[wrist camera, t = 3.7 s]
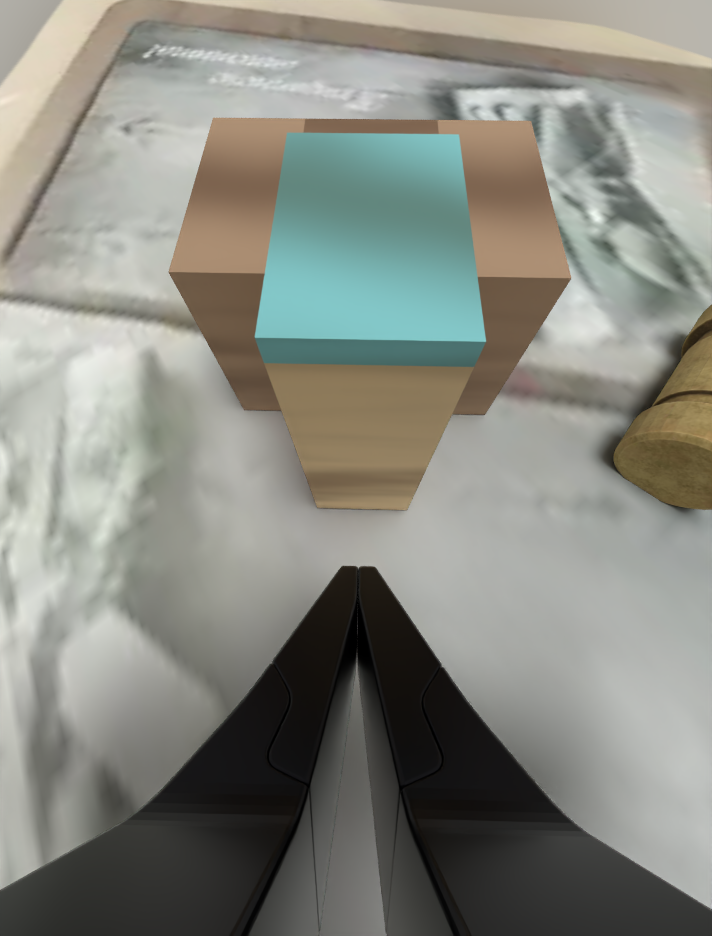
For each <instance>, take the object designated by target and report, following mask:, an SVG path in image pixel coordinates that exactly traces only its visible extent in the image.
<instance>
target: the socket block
mask: <svg viewBox="0 0 712 936" xmlns="http://www.w3.org/2000/svg"><path fill="white" fill-rule="evenodd" d="M287 133H376V134H459V139H460V146H461V154H462V162H463V169H464V177H465V185H466V192H467V200H468V208H469V215H470V223H471V230H472V238H473V246H474V253H475V261H476V269H477V276H478V284H479V291H480V299H481V307H482V314H483V322H484V330H485V337H486V343H485V345H484V347H483V349H482V351H481V354H480V356H479V358H478V360H477V362H476V364H475V366H474V369H473V371H472V373H471V375H470V377H469V379H468V381H467V383H466V386H465V388H464V390H463V392H462V394H461V396H460V398H459V401H458V403H457V405H456V407H455V409H454V411H453V413H452V414H478V415H485V414H486V412H487V411H488V409H489V408H490V406H491V404H492V403H493V401H494V400H495V398H496V396H497V395H498V393H499V392H500V390H501V389H502V387H503V385H504V384H505V382H506V381H507V379H508V378H509V376H510V374H511V373H512V371H513V370H514V368H515V366H516V365H517V363H518V362H519V360H520V359H521V357H522V355H523V354H524V352H525V351H526V349H527V348H528V346H529V344H530V343H531V341H532V340H533V338H534V336H535V335H536V333H537V332H538V330H539V329H540V327H541V325H542V324H543V322H544V321H545V319H546V318H547V316H548V314H549V313H550V311H551V310H552V308H553V306H554V305H555V303H556V302H557V300H558V299H559V297H560V295H561V294H562V292H563V291H564V289H565V288H566V286H567V284H568V283H569V281H570V280H571V275H570V271H569V267H568V263H567V259H566V255H565V252H564V248H563V244H562V240H561V236H560V232H559V228H558V224H557V221H556V217H555V213H554V209H553V205H552V201H551V197H550V193H549V189H548V186H547V182H546V178H545V174H544V170H543V166H542V162H541V158H540V155H539V151H538V147H537V143H536V139H535V135H534V131H533V127H532V124H531V121H479V120H381V119H282V118H213V120H212V124H211V127H210V131H209V134H208V138H207V141H206V145H205V148H204V151H203V155H202V158H201V162H200V165H199V169H198V172H197V176H196V179H195V182H194V186H193V189H192V193H191V196H190V200H189V203H188V207H187V210H186V213H185V217H184V220H183V224H182V227H181V231H180V234H179V238H178V241H177V245H176V248H175V251H174V255H173V258H172V262H171V265H170V269H169V274H170V276H171V277H172V279H173V281H174V283H175V285H176V287H177V288H178V290H179V292H180V294H181V296H182V298H183V299H184V301H185V303H186V305H187V307H188V308H189V310H190V312H191V314H192V316H193V318H194V319H195V321H196V323H197V325H198V327H199V328H200V330H201V332H202V334H203V336H204V338H205V339H206V341H207V343H208V345H209V347H210V349H211V350H212V352H213V354H214V356H215V358H216V359H217V361H218V363H219V365H220V367H221V369H222V370H223V372H224V374H225V376H226V378H227V379H228V381H229V383H230V385H231V387H232V389H233V390H234V392H235V394H236V396H237V398H238V400H239V401H240V403H241V405H242V407H243V409H244V410H278V411H281V408H280V405H279V402H278V400H277V397H276V394H275V392H274V389H273V386H272V384H271V381H270V378H269V375H268V373H267V370H266V367H265V365H264V362H263V359H262V356H261V354H260V351H259V348H258V346H257V343H256V340H255V332H256V325H257V319H258V313H259V306H260V300H261V294H262V288H263V281H264V275H265V269H266V262H267V256H268V250H269V243H270V237H271V231H272V224H273V218H274V212H275V205H276V199H277V193H278V186H279V180H280V174H281V168H282V161H283V155H284V149H285V142H286V136H287Z"/></svg>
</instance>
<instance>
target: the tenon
mask: <svg viewBox="0 0 712 936" xmlns="http://www.w3.org/2000/svg"><path fill="white" fill-rule="evenodd" d="M255 340H256V343H257V346H258V348H259V351H260V354H261V356H262V359H263V362H264V365H265V367H266V370H267V373H268V375H269V378H270V381H271V384H272V386H273V389H274V392H275V394H276V397H277V400H278V402H279V405H280V408H281V411H282V413H283V416H284V419H285V421H286V424H287V427H288V430H289V432H290V435H291V438H292V440H293V443H294V446H295V449H296V451H297V454H298V457H299V459H300V462H301V465H302V467H303V470H304V473H305V476H306V478H307V481H308V484H309V486H310V489H311V492H312V495H313V497H314V500H315V503H316V505H317V508H342V509H385V510H407V509H408V507H409V505H410V503H411V501H412V499H413V496H414V494H415V492H416V490H417V488H418V486H419V484H420V482H421V479H422V477H423V475H424V473H425V471H426V469H427V467H428V465H429V462H430V460H431V458H432V456H433V454H434V452H435V450H436V447H437V445H438V443H439V441H440V439H441V437H442V435H443V433H444V430H445V428H446V426H447V424H448V422H449V420H450V418H451V415H452V413H453V411H454V409H455V407H456V405H457V403H458V401H459V398H460V396H461V394H462V392H463V390H464V388H465V386H466V383H467V381H468V379H469V377H470V375H471V373H472V371H473V369H474V366H475V364H476V362H477V360H478V358H479V356H480V354H481V351H482V349H483V347H484V345H485V343H486V337H485V330H484V322H483V314H482V307H481V299H480V291H479V284H478V276H477V269H476V261H475V253H474V246H473V238H472V230H471V223H470V215H469V208H468V200H467V192H466V185H465V177H464V169H463V162H462V154H461V146H460V139H459V134H376V133H287V136H286V142H285V149H284V155H283V161H282V168H281V174H280V180H279V186H278V193H277V199H276V205H275V212H274V218H273V224H272V231H271V237H270V243H269V250H268V256H267V262H266V269H265V275H264V281H263V288H262V294H261V300H260V306H259V313H258V319H257V325H256V332H255Z"/></svg>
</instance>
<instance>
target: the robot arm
mask: <svg viewBox="0 0 712 936" xmlns="http://www.w3.org/2000/svg"><path fill="white" fill-rule="evenodd" d="M357 620H358V632H357ZM356 662H357V663H358V675H359V684H360V694H361V703H362V713H363V722H364V732H365V741H366V751H367V760H368V769H369V779H370V788H371V798H372V807H373V817H374V826H375V836H376V845H377V855H378V864H379V874H380V883H381V893H382V902H383V912H384V921H385V930H386V934H387V936H712V909H710V908H708V907H707V906H705V905H704V904H702V903H700V902H699V901H697V900H695V899H694V898H692V897H690V896H689V895H687V894H686V893H684V892H682V891H681V890H679V889H677V888H676V887H674V886H673V885H671V884H669V883H668V882H666V881H664V880H663V879H661V878H660V877H658V876H656V875H655V874H653V873H651V872H650V871H648V870H647V869H645V868H643V867H642V866H640V865H638V864H637V863H635V862H634V861H632V860H630V859H629V858H627V857H625V856H624V855H622V854H621V853H619V852H617V851H616V850H614V849H612V848H611V847H609V846H608V845H606V844H604V843H603V842H601V841H599V840H598V839H596V838H595V837H593V836H592V835H590V834H588V833H587V832H586V831H584V830H583V829H582V828H581V827H579V826H578V825H577V824H575V823H574V822H573V821H572V820H571V819H570V818H569V817H567V816H566V815H565V814H564V813H563V812H562V811H561V810H560V809H559V808H558V807H557V806H556V805H555V804H554V803H553V802H552V801H551V800H550V798H549V797H548V796H547V795H546V794H545V793H544V792H543V791H542V789H541V788H540V787H539V786H538V785H537V784H536V782H535V781H534V780H533V779H532V778H531V776H530V775H529V774H528V773H527V772H526V771H525V769H524V768H523V767H522V766H521V765H520V764H519V762H518V761H517V760H516V759H515V758H514V757H513V755H512V754H511V753H510V752H509V751H508V749H507V748H506V747H505V746H504V745H503V744H502V742H501V741H500V740H499V739H498V738H497V737H496V735H495V734H494V733H493V732H492V731H491V729H490V728H489V727H488V726H487V725H486V723H485V722H484V721H483V720H482V719H481V717H480V716H479V715H478V714H477V712H476V711H475V710H474V709H473V707H472V706H471V705H470V704H469V702H468V701H467V700H466V698H465V697H464V695H463V694H462V693H461V691H460V690H459V689H458V687H457V686H456V684H455V683H454V682H453V680H452V679H451V677H450V676H449V674H448V673H447V671H446V670H445V668H444V667H442V664H441V663H440V661H439V660H438V658H437V657H436V655H435V654H434V652H433V651H432V649H431V648H430V647H429V645H428V644H427V642H426V641H425V639H424V638H423V636H422V635H421V633H420V632H419V630H418V629H417V627H416V626H415V624H414V623H413V622H412V620H411V619H410V617H409V616H408V614H407V613H406V611H405V610H404V608H403V607H402V605H401V604H400V602H399V601H398V599H397V598H396V597H395V595H394V594H393V592H392V591H391V589H390V588H389V586H388V585H387V583H386V582H385V580H384V579H383V577H382V576H381V574H380V573H379V572H378V570H377V569H376V568H375V567H373V566H360V567H359V569H358V567H356V566H342V567H341V568H340V569H339V570H338V572H337V573H336V574H335V576H334V577H333V579H332V580H331V581H330V583H329V584H328V585H327V587H326V588H325V589H324V591H323V592H322V594H321V595H320V596H319V598H318V599H317V600H316V602H315V603H314V605H313V606H312V607H311V609H310V610H309V611H308V613H307V614H306V615H305V617H304V618H303V620H302V621H301V622H300V624H299V625H298V626H297V628H296V629H295V631H294V632H293V633H292V635H291V636H290V637H289V639H288V640H287V642H286V643H285V644H284V646H283V647H282V648H281V650H280V651H279V652H278V654H277V655H276V657H275V658H274V659H273V661H272V663H271V664H270V665H269V666H268V667H267V669H266V670H265V671H264V673H263V674H262V676H261V677H260V678H259V680H258V681H257V682H256V683H255V685H254V686H253V687H252V689H251V690H250V691H249V692H248V694H247V695H246V696H245V698H244V699H243V700H242V701H241V702H240V703H239V705H238V706H237V707H236V708H235V709H234V710H233V711H232V713H231V714H230V715H229V716H228V717H227V718H226V719H225V721H224V722H223V723H222V724H221V725H220V726H219V727H218V728H217V729H216V730H215V732H214V733H213V734H212V735H211V736H210V737H209V738H208V739H207V740H206V741H205V743H204V744H203V745H202V746H201V747H200V748H199V749H198V750H197V751H196V752H195V753H194V755H193V756H192V757H191V758H190V759H189V760H188V761H187V762H186V763H185V764H184V766H183V767H182V768H181V769H180V770H179V771H178V772H177V773H176V774H175V775H174V777H173V778H172V779H171V780H170V781H169V782H168V783H167V784H166V785H165V786H164V787H163V788H162V789H161V790H160V791H159V792H158V793H157V794H156V795H155V796H154V797H153V798H152V799H151V800H150V801H149V802H148V803H147V804H145V805H144V806H143V807H142V808H140V809H139V810H138V811H137V812H136V813H134V814H133V815H131V816H130V817H129V818H127V819H126V820H124V821H123V822H121V823H119V824H118V825H116V826H114V827H112V828H111V829H109V830H107V831H105V832H103V833H102V834H100V835H98V836H96V837H95V838H93V839H91V840H89V841H87V842H86V843H84V844H82V845H80V846H78V847H77V848H75V849H73V850H71V851H69V852H68V853H66V854H64V855H62V856H60V857H59V858H57V859H55V860H53V861H52V862H50V863H48V864H46V865H44V866H43V867H41V868H39V869H37V870H35V871H34V872H32V873H30V874H28V875H26V876H25V877H23V878H21V879H19V880H18V881H16V882H14V883H12V884H10V885H9V886H7V887H5V888H3V889H1V890H0V936H319V931H320V926H321V919H322V912H323V904H324V897H325V890H326V883H327V875H328V868H329V861H330V853H331V846H332V839H333V832H334V824H335V817H336V810H337V802H338V795H339V788H340V780H341V773H342V766H343V759H344V751H345V744H346V737H347V729H348V722H349V715H350V708H351V700H352V693H353V686H354V678H355V671H356Z"/></svg>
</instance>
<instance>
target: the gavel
mask: <svg viewBox="0 0 712 936" xmlns="http://www.w3.org/2000/svg"><path fill="white" fill-rule="evenodd" d="M681 357H682V359H681V361H680V362H679V364H678V366H677V367H676V369H675V370H674V372H673V374H672V375H671V377H670V378H669V380H668V382H667V383H666V385H665V386H664V388H663V389H662V391H661V393H660V394H659V396H658V397H657V399H656V401H655V402H654V404H653V405H652V407H651V408H649V409H647V410H645V411H643V412H642V413H641V414H639V415H638V416H637V417H636V418H635V420H634V421H633V422H632V424H631V426H630V427H629V429H628V430H627V432H626V433H625V435H624V437H623V438H622V440H621V441H620V443H619V444H618V446H617V448H616V449H615V452H614V464H615V467H616V469H617V470H618V471H619V472H620V473H621V475H622V476H623V477H624V478H625V479H627V480H629V481H630V482H632V483H633V484H635V485H636V486H638V487H639V488H641V489H643V490H644V491H646V492H647V493H649V494H650V495H652V496H654V497H655V498H657V499H658V500H660V501H662V502H664V503H668V504H671V505H675V506H680V507H685V508H691V509H702V510H709V509H712V305H711V306H710V307H709V308H707V309H706V310H705V311H704V312H703V314H702V315H701V316H700V318H699V319H698V321H697V322H696V324H695V325H694V327H693V328H692V330H691V332H690V333H689V335H688V336H687V338H686V339H685V341H684V344H683V346H682V352H681Z"/></svg>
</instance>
